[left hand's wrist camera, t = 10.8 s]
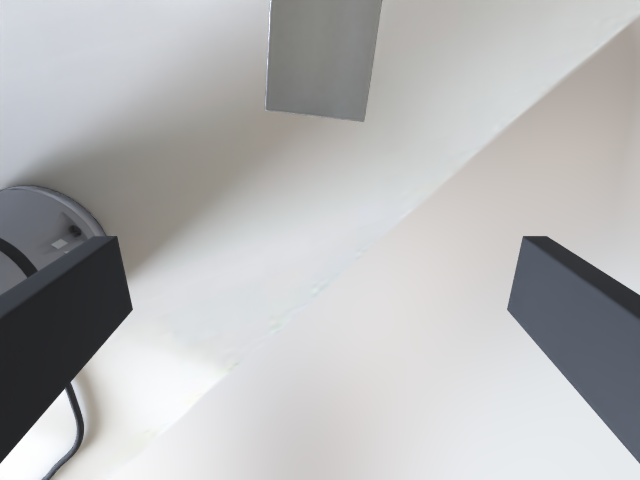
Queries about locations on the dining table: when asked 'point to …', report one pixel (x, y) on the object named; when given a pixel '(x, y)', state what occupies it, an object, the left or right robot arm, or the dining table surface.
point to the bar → (321, 57)
